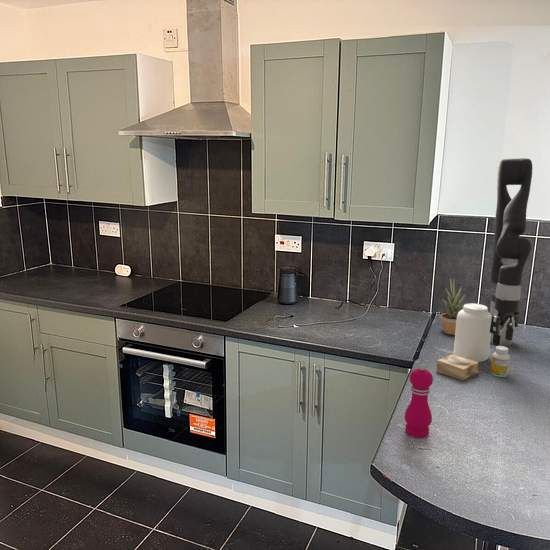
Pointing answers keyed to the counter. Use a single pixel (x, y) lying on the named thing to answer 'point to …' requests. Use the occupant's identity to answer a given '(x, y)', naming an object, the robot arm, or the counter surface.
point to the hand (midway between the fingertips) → (502, 342)
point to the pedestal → (457, 366)
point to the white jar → (473, 332)
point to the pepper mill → (419, 403)
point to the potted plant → (451, 310)
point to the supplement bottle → (500, 362)
